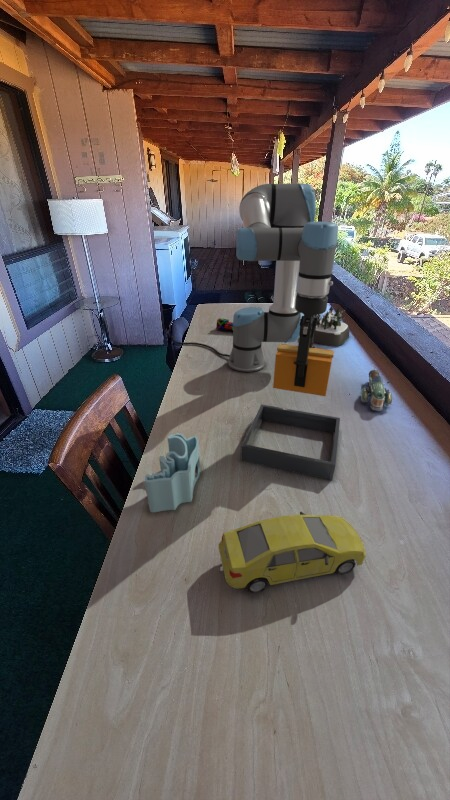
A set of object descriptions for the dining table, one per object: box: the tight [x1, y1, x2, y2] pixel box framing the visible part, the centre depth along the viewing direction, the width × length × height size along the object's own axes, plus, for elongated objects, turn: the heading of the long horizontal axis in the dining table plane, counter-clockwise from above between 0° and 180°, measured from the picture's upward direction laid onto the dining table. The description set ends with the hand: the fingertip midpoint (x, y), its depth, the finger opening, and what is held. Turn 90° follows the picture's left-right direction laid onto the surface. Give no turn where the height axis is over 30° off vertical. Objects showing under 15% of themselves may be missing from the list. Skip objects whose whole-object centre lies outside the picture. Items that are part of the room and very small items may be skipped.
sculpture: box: [215, 317, 233, 331], centre depth 180 cm, size 9×5×30 cm
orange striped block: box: [272, 343, 335, 397], centre depth 94 cm, size 14×8×11 cm, turn 71°
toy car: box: [218, 511, 367, 594], centre depth 66 cm, size 12×28×10 cm, turn 102°
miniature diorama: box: [313, 305, 351, 347], centre depth 169 cm, size 20×20×17 cm
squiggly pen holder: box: [144, 432, 201, 513], centre depth 85 cm, size 18×10×9 cm, turn 175°
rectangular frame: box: [240, 404, 341, 481], centre depth 99 cm, size 24×22×5 cm
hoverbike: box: [360, 366, 393, 413], centre depth 123 cm, size 10×25×8 cm, turn 163°
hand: (301, 378), depth 95 cm, fingers closed on orange striped block, 7 cm apart
